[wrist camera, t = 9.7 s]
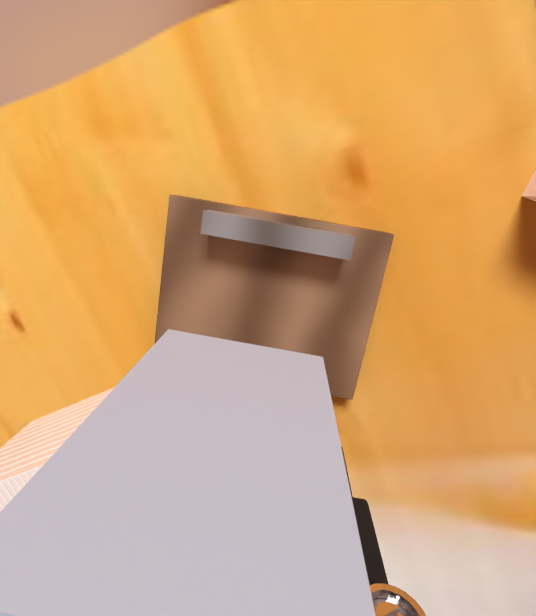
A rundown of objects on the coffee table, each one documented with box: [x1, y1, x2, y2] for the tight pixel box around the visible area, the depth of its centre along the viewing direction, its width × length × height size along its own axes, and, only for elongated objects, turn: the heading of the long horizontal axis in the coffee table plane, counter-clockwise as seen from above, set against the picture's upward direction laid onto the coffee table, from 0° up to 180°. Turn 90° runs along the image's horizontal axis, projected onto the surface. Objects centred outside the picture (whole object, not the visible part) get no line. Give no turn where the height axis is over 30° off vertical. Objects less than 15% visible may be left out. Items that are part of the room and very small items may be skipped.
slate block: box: [0, 329, 376, 616], centre depth 9 cm, size 5×6×9 cm
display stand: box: [155, 195, 394, 399], centre depth 30 cm, size 16×13×4 cm
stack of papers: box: [0, 387, 115, 512], centre depth 34 cm, size 32×11×11 cm, turn 24°
